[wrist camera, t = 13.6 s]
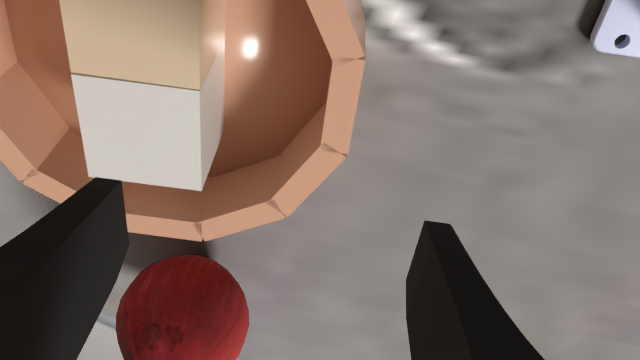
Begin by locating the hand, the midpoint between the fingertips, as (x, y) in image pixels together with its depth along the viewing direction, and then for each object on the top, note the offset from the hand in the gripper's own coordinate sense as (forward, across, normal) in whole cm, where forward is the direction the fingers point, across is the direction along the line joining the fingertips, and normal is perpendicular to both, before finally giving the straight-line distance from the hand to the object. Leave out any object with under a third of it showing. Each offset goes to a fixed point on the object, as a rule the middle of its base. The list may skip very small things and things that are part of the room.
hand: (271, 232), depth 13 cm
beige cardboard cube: (+9, +5, -2) cm, 11 cm away
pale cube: (+9, +5, +2) cm, 11 cm away
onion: (+10, +4, +12) cm, 16 cm away
